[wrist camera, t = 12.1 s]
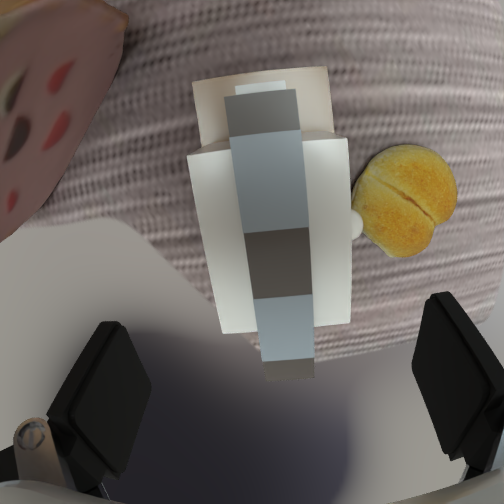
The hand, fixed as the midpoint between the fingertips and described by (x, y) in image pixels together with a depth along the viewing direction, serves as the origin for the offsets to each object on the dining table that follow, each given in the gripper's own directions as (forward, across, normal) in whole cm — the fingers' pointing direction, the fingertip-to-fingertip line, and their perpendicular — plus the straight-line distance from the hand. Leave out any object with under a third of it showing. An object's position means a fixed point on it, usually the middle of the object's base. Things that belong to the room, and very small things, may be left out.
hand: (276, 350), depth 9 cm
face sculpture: (+17, +16, -10) cm, 26 cm away
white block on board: (+17, 0, +1) cm, 17 cm away
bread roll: (+17, -10, +1) cm, 20 cm away
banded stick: (+13, 0, +1) cm, 13 cm away
